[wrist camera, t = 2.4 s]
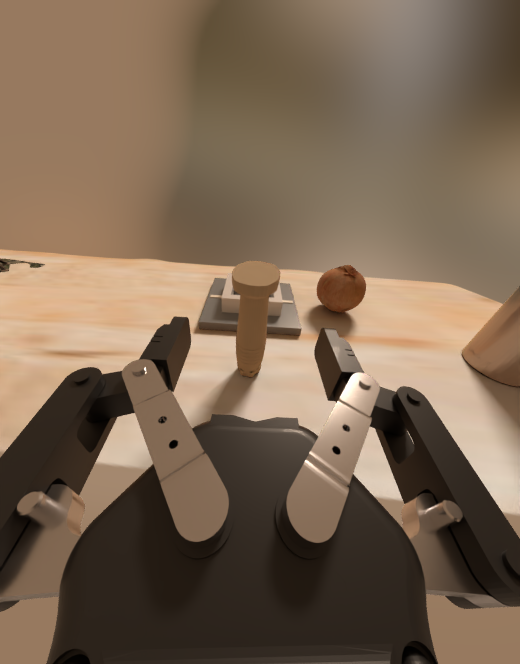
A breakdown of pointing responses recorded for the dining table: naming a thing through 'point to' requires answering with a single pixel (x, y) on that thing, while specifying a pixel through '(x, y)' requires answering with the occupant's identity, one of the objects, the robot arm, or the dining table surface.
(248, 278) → the handle
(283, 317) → the square socket base
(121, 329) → the dining table surface
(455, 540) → the robot arm
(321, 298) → the onion
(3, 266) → the eiffel tower figurine
